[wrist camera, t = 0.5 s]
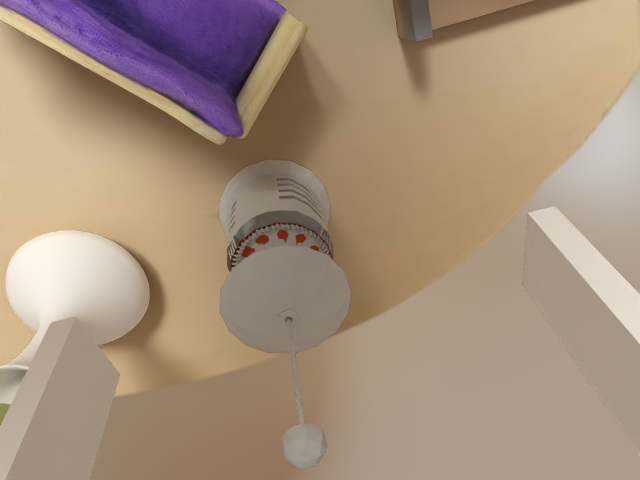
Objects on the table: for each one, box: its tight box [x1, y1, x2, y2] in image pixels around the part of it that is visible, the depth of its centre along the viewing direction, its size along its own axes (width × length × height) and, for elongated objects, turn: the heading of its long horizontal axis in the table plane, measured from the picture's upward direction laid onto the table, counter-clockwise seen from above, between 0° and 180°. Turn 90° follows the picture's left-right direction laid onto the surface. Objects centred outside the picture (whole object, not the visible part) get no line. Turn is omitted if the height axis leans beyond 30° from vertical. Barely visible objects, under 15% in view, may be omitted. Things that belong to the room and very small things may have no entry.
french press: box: [219, 159, 351, 468], centre depth 30 cm, size 10×12×25 cm
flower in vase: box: [0, 230, 150, 425], centre depth 31 cm, size 13×11×25 cm
